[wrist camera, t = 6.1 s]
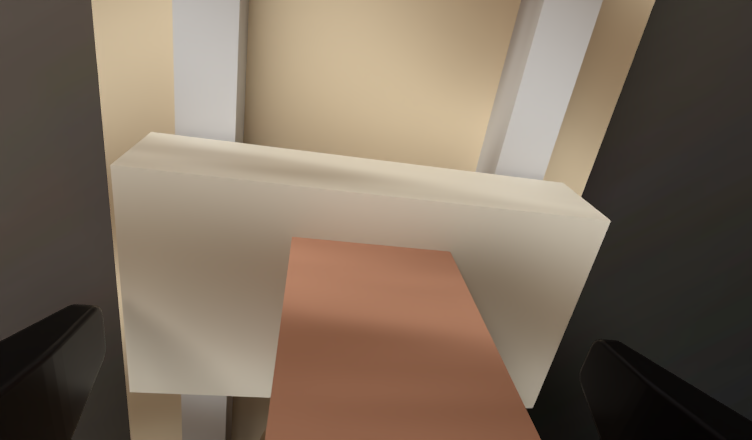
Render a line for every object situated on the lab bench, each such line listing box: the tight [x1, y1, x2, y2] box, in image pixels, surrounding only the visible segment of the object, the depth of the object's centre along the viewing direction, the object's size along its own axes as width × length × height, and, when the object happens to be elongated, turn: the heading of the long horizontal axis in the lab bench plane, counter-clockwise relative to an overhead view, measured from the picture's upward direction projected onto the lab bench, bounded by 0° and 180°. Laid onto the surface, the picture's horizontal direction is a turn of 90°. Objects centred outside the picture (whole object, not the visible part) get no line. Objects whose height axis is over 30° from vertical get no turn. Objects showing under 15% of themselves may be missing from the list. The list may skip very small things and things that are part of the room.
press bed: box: [91, 0, 655, 440], centre depth 11 cm, size 22×12×6 cm, turn 171°
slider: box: [110, 132, 611, 440], centre depth 8 cm, size 5×9×7 cm, turn 81°
